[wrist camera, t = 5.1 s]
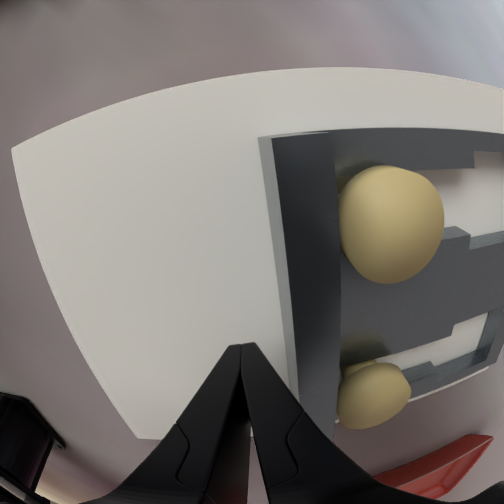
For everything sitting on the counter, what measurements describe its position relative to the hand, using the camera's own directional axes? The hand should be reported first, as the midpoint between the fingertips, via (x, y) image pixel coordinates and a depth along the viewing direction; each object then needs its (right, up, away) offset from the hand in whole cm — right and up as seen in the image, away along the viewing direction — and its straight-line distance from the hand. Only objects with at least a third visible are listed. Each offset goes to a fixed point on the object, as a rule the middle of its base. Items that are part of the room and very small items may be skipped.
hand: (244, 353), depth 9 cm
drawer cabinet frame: (+7, +2, +2) cm, 8 cm away
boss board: (+3, +2, +3) cm, 5 cm away
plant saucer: (+17, -24, +15) cm, 33 cm away
